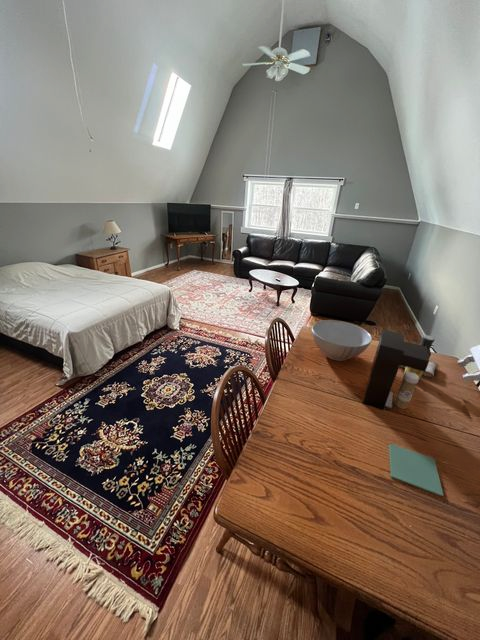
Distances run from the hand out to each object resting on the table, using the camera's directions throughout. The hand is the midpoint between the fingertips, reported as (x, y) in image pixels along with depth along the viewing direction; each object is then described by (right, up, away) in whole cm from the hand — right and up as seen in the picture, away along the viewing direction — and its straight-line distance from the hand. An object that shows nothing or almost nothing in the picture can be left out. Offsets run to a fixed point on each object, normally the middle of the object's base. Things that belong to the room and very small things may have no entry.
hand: (460, 371), depth 86 cm
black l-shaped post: (-16, -14, +15) cm, 26 cm away
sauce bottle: (+3, -8, +29) cm, 31 cm away
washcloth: (+8, -5, +38) cm, 39 cm away
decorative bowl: (-25, 0, +44) cm, 51 cm away
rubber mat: (-22, -25, -11) cm, 36 cm away
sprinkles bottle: (-12, -15, +13) cm, 23 cm away
